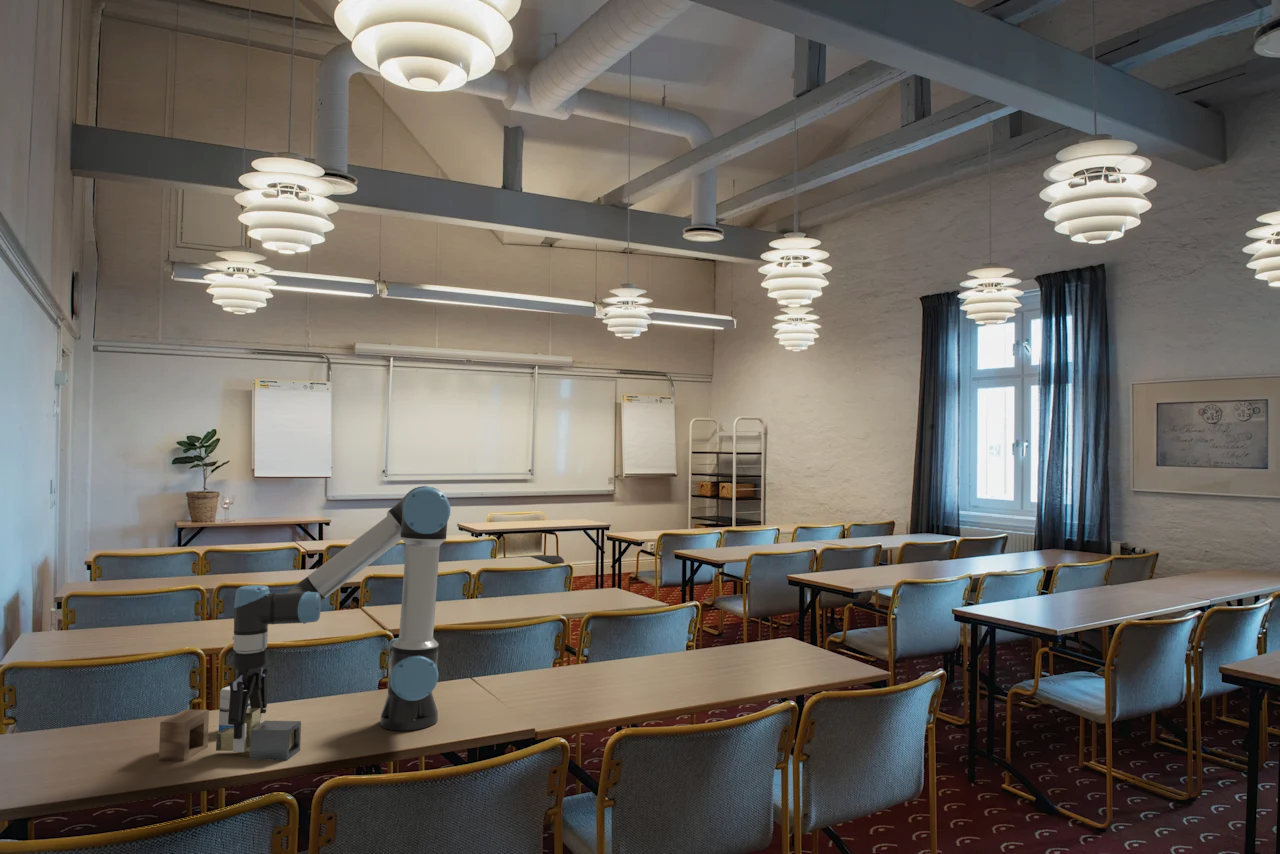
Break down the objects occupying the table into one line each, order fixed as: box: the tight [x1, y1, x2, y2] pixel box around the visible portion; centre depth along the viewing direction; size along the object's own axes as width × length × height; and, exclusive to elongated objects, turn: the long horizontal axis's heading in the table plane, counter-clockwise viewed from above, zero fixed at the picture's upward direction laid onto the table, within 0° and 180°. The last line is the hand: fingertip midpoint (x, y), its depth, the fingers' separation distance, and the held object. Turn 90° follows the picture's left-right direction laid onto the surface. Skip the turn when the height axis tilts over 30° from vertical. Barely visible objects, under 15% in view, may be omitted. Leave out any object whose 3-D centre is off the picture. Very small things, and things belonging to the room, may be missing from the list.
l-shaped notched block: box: [215, 708, 294, 752], centre depth 193 cm, size 17×4×9 cm, turn 89°
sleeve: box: [249, 720, 302, 761], centre depth 193 cm, size 9×7×7 cm
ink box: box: [218, 685, 251, 733], centre depth 210 cm, size 8×5×12 cm, turn 168°
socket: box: [158, 709, 210, 762], centre depth 194 cm, size 6×10×9 cm, turn 179°
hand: (247, 746), depth 193 cm, fingers open, 6 cm apart
